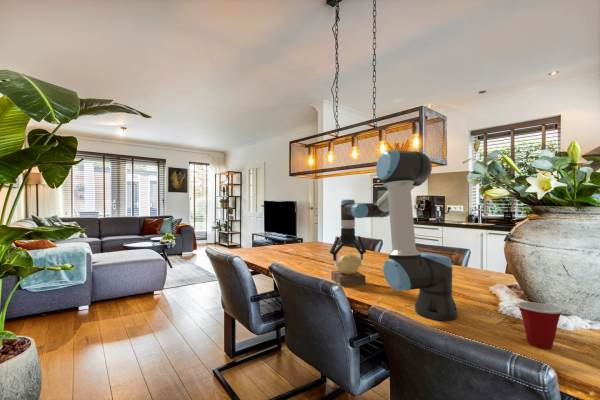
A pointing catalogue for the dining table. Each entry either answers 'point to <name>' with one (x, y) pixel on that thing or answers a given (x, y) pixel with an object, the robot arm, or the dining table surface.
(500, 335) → the dining table surface
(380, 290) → the dining table surface
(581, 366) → the dining table surface
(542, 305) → the plastic cup
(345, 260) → the sculpture
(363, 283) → the walnut block
